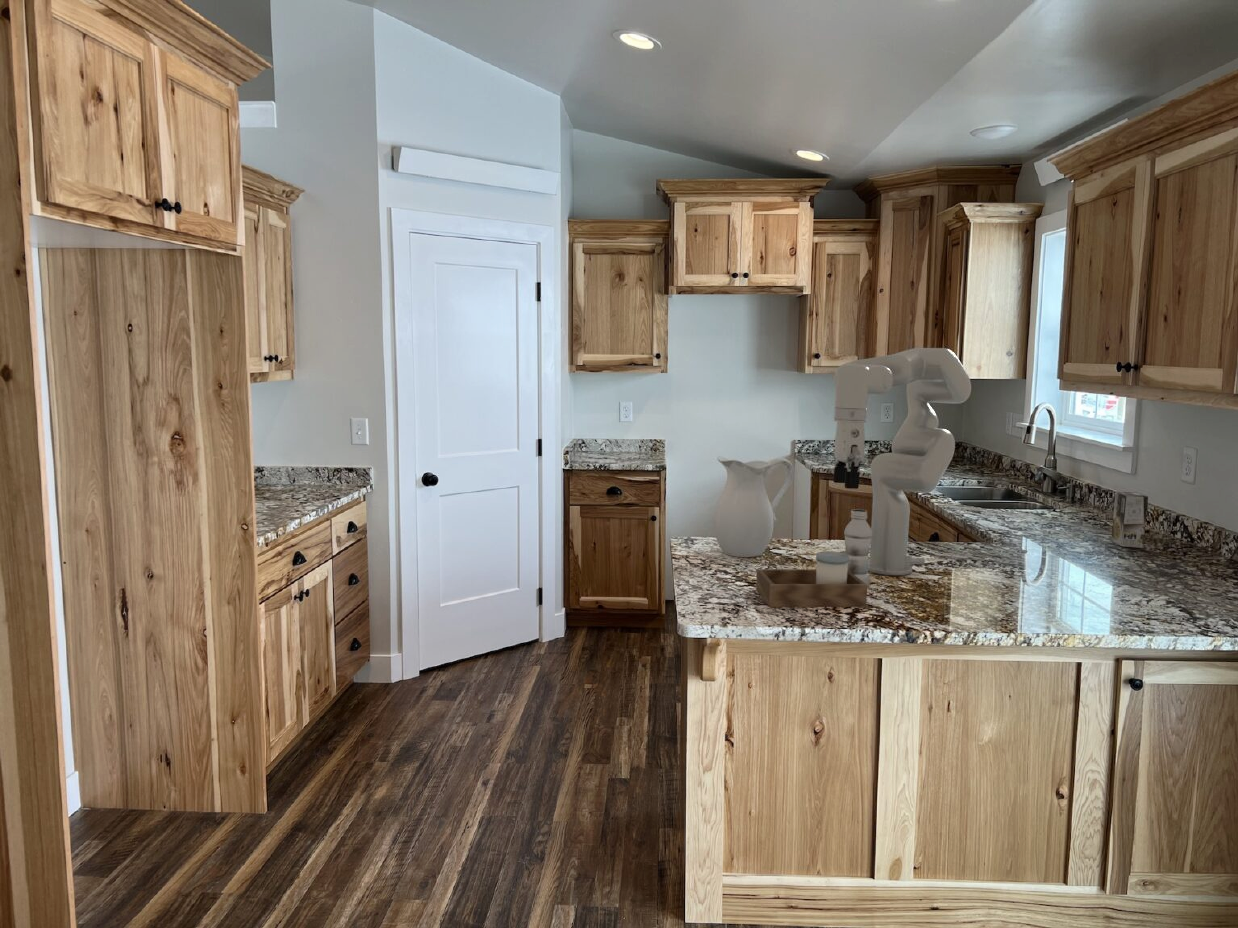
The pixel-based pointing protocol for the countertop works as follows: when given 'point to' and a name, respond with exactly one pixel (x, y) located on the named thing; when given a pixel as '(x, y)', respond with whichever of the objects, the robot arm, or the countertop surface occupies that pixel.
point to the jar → (831, 567)
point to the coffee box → (1129, 519)
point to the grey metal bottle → (858, 544)
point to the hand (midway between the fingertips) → (845, 485)
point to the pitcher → (747, 507)
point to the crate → (808, 589)
